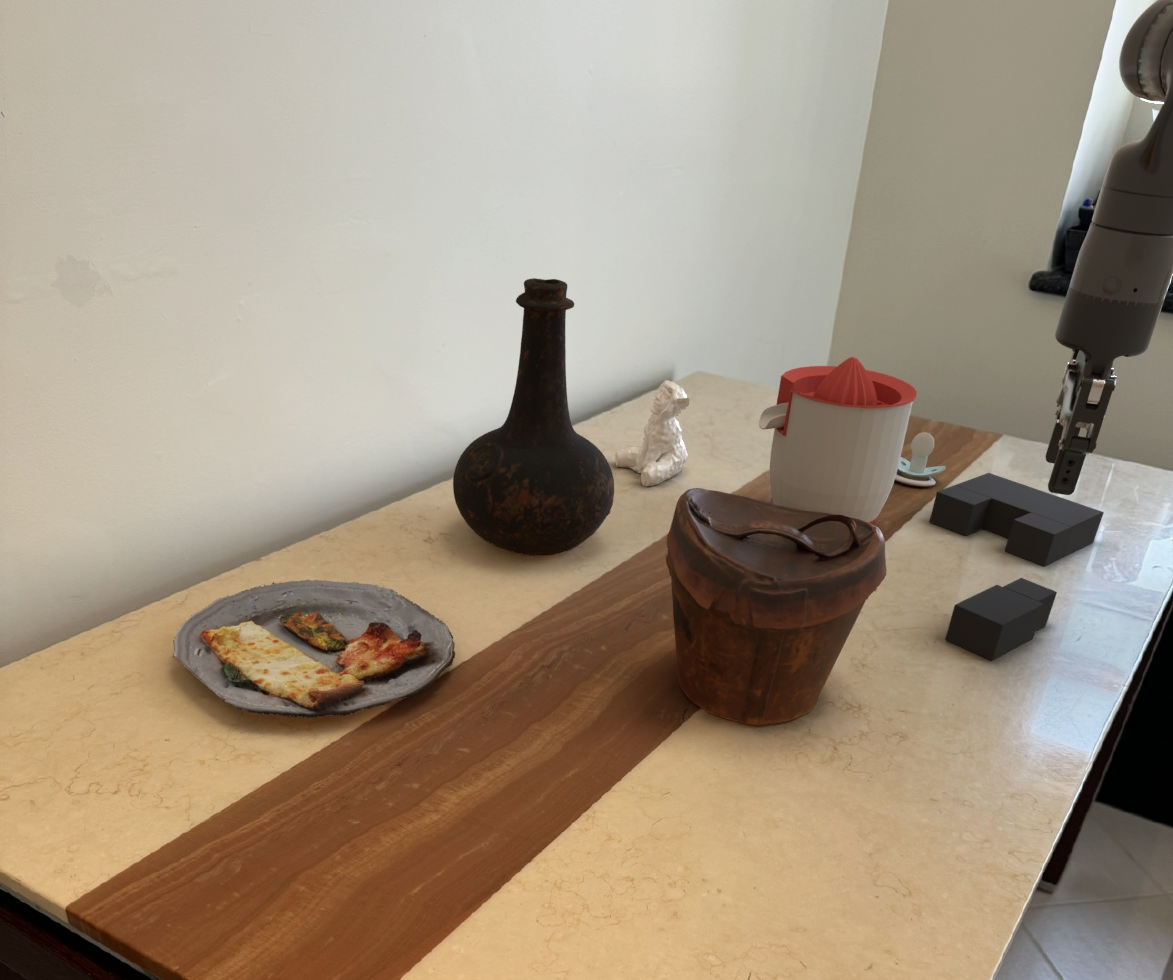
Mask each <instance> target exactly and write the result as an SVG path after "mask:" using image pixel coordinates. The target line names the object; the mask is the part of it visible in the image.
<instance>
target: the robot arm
mask: <svg viewBox="0 0 1173 980" xmlns="http://www.w3.org/2000/svg"><path fill="white" fill-rule="evenodd" d="M1128 30H1129V31H1128V32H1127V34H1126V35H1125V39H1124V40H1123V43H1122V46H1121V49H1120V53H1119V58H1118V59H1119V60H1118V70H1119V74H1120V75H1119V76H1120V78H1121V82H1122V84H1123V85H1124V87H1125V88H1126V89H1127V90H1128V91H1129V93H1130V94H1132V95H1133V96H1134V97H1136V98H1138V99H1140V100H1142V101H1145V102H1148V103H1154V104H1160V105H1161V107H1160V109H1159V111H1158V113H1157V115H1156V117H1155V119H1154V121H1153V123H1152V125H1151V126H1150V129H1149V130H1148V131H1147V133H1146V135H1145V136H1144V137H1143V138H1142V139H1138V140H1133V141H1130V142H1127V143H1124V144H1122V145H1121V146H1120V147H1119V148H1117V149H1116V150H1115V151H1114V153H1113V155H1112V157H1111V159H1110V161H1109V163H1108V166H1107V168H1106V171H1105V174H1104V177H1103V181H1102V184H1101V187H1100V191H1099V194H1098V198H1097V200H1096V204H1095V208H1094V211H1093V213H1092V214H1093V215H1092V216H1091V217H1092V218H1091V222H1090V224H1089V227H1088V230H1087V233H1086V235H1085V237H1084V240H1083V242H1082V244H1081V247H1080V249H1079V251H1078V255H1077V258H1076V262H1075V265H1074V268H1073V271H1072V274H1071V275H1072V276H1071V279H1070V282H1069V285H1068V288H1067V292H1066V295H1065V299H1064V302H1063V305H1062V310H1061V312H1060V315H1059V318H1058V319H1059V320H1058V323H1057V326H1056V329H1055V333H1054V337H1055V339H1056V341H1057V343H1059V344H1060V345H1061V346H1064V347H1065V348H1068V349H1070V350H1071V351H1072V354H1071V357H1070V360H1069V362H1067V363H1066V365H1065V367H1064V371H1063V375H1062V381H1061V385H1060V387H1059V389H1058V394H1057V398H1056V402H1055V403H1056V409H1055V412H1054V416H1055V417H1054V419H1055V422H1054V427H1053V430H1052V432H1051V436H1050V440H1049V443H1048V446H1047V450H1046V453H1045V461H1046V462H1047V463H1049V464H1053V467H1052V471H1051V474H1050V476H1049V480H1048V484H1047V491H1048V492H1049V493H1050V494H1058V495H1064V496H1070V495H1073V494H1074V493H1075V490H1076V488H1077V484H1078V481H1079V479H1080V475H1081V472H1082V470H1083V466H1084V462H1085V461H1086V460H1085V459H1086V457H1087V455H1089V454H1093V452H1094V451H1095V450H1096V448H1097V441H1098V437H1099V435H1100V431H1101V428H1102V425H1103V423H1104V421H1105V418H1106V417H1105V416H1106V413H1107V409H1108V407H1109V404H1110V400H1111V397H1112V395H1113V393H1114V391H1115V389H1116V384H1117V380H1118V379H1117V378H1118V377H1117V376H1115V375H1114V374H1115V368H1113V367H1114V366H1113V365H1114V361H1115V359H1117V358H1120V357H1126V358H1130V357H1131V358H1133V357H1137V356H1140V355H1142V354H1144V353H1145V352H1147V350H1148V348H1149V346H1150V344H1151V343H1150V342H1151V340H1152V337H1153V334H1154V331H1155V328H1156V325H1157V322H1158V320H1159V316H1160V313H1161V310H1162V307H1163V305H1164V303H1165V298H1166V296H1167V293H1168V289H1169V287H1170V284H1171V281H1172V278H1173V0H1155V2H1153V3H1151V4H1150V5H1149V6H1148V7H1147V8H1146V9H1145V10H1144V11H1143V12H1142V13H1141V14H1140V15H1139V16H1138V18H1137V19H1136V20H1135V21H1134V23H1133V24H1132V25H1131V27H1130V29H1128ZM1081 429H1085V430H1086V434H1085V436H1080V431H1081Z"/></svg>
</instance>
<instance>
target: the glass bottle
mask: <svg viewBox="0 0 1173 980" xmlns="http://www.w3.org/2000/svg"><path fill="white" fill-rule="evenodd" d="M523 289H524V292H522V293H520V294H519V295H518V296H517V297H516V299H515V303H516V304H517V305H518V306H519V307H521V308H522V309H523V316H522V330H521V338H520V350H519V360H518V366H517V374H516V380H515V386H514V392H513V396H512V400H511V405H510V407H509V411H508V414H507V416H506V419H505V421H504V422H503V424H502V425H501V426H499V427H498V428H495V429H493V430H490V431H487V432H486V433H484V434H482V435H480V436H479V437H477V438H476V439H474V440H473V441H472V442H471V443H469V444H468V445H467V447H466V448H465V449H464V450H463V451H462V453H461V454H460V456H459V458H458V460H457V463H456V465H455V468H454V470H453V471H454V472H453V477H452V489H453V497H454V501H455V504H456V507H457V509H458V512H459V515H460V516H461V517H462V519H463V520H464V522H465V523H466V524H467V525H468V527H469V528H470V529H471V530H472V531H473V532H474V534H476V535H477V536H479V537H480V538H481V539H482V540H484V541H485V542H486V543H488V544H491V545H493V546H495V547H498V548H499V549H502V550H505V551H507V552H512V553H514V554H519V555H525V556H534V557H548V556H553V555H559V554H563V553H565V552H569V551H571V550H573V549H574V548H576V547H578V546H580V545H582V544H583V543H584V542H586V540H588V539H590V538H591V537H592V536H593V535H594V534H595V533H596V532H597V531H598V530H599V528H600V527H601V526H602V525H603V523H604V521H605V520H606V519H607V517H608V515H610V514H611V511H612V507H613V505H614V501H615V500H614V497H615V479H614V475H613V471H612V467H611V465H610V464H609V461H608V459H607V458H606V456H605V455H604V454H603V452H602V451H601V449H599V447H597V445H595V444H594V443H593V442H592V441H590V440H589V439H587V438H586V437H584V436H582V435H581V434H579V433H578V432H577V431H575V429H574V427H573V424H572V421H571V416H570V409H569V402H568V388H567V368H566V366H567V364H566V359H567V356H566V355H567V353H566V352H567V351H566V318H567V317H566V314H567V313H566V312H567V310H571V309H573V308H574V307H575V302H574V301H573V300H572V299H571V298H569V297H567V291H568V283H567V282H566V281H563V280H560V279H556V278H549V279H543V278H535V277H532V278H528V279H525V280H524V281H523Z"/></svg>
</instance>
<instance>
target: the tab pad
mask: <svg viewBox="0 0 1173 980" xmlns="http://www.w3.org/2000/svg"><path fill="white" fill-rule="evenodd" d="M1057 594H1058V592H1057V591H1055V590H1053V589H1051V588H1048V587H1045V586H1043V585H1040V584H1038V583H1035V582H1033V581H1030V580H1028V579H1026V578H1023V577H1019V578H1017V579H1016V580H1013V581H1012V582H1010V583H1007V584H1005V585H1003V586H1001V585H999V584H995V585H993V586H990V587H989V588H987V589H985V590H983V591H981V592H979V593H976V594H974V595H972V596H970V597H968V598H966V599H964V600H962V601H960V602H957V603H956V604H954V606H953V610H952V613H951V618H950V620H949V625H948V628H947V632H946V634H945V639H944V640H945V641H947V642H949V643H951V644H954V645H956V646H958V647H960V648H963V649H965V650H967V651H969V652H971V653H974V654H976V655H977V656H980V657H982V658H985V659H986V660H989V661H991V662H993V661H995V660H996V659H998V658H1000V657H1002V656H1003V655H1006V654H1008V653H1009V652H1012V651H1013V650H1014V649H1016V648H1018V647H1020V646H1023V645H1024V644H1025V643H1027V642H1029V641H1031V640H1033V639H1034V636H1035V633H1036V632H1037V631H1040V630H1041V629H1043V628H1045V627H1046V626H1047V624H1048V621H1049V617H1050V614H1051V611H1052V608H1053V606H1054V602H1055V599H1056V596H1057Z"/></svg>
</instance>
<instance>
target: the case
mask: <svg viewBox="0 0 1173 980" xmlns="http://www.w3.org/2000/svg"><path fill="white" fill-rule="evenodd" d="M673 512H674V513H673V516H672V520H671V524H670V528H669V531H668V532H667V535H666V547H667V554H666V556H665V562H666V566H667V569H668V573H669V576H670V578H671V579H670V580H671V581H670V582H671V597H672V598H671V599H672V613H673V615H672V616H673V627H674V628H673V629H674V639H675V640H674V642H675V654H676V669H677V670H676V671H677V680H678V684H679V687H680V688H681V690H682V692H683V694H684V695H685V696H686V697H687V698H688V699H689V700H690V701H691V702H692V703H693V704H695V706H698V707H699V708H701V709H703V710H704V711H706V712H708V713H710V714H712V715H715V716H718V717H720V718H723V719H727V720H730V721H734V722H738V723H741V724H745V725H750V726H765V725H775V724H783V723H787V722H790V721H793V720H795V719H798V718H801V717H803V716H805V715H806V714H808V713H810V712H811V711H812V710H813V709H814V708H815V706H816V705H817V703H818V701H819V699H820V698H819V697H820V695H821V693H822V691H823V689H824V687H825V685H826V683H827V681H828V679H829V678H830V675H831V673H832V670H833V668H834V666H835V665H836V662H837V660H838V658H839V656H840V654H841V653H842V651H843V648H844V647H845V644H846V642H847V640H848V638H849V636H850V634H851V632H852V630H853V627H854V626H855V624H856V622H857V619H858V617H859V615H860V613H861V611H862V609H863V607H864V605H865V603H866V601H868V599H869V597H870V596H871V595H872V594H873V593H874V592H875V591H876V590H877V589H878V588H879V586H880V585H881V584H882V582H883V581H884V580H885V579H886V576H887V570H888V569H887V561H886V560H887V559H886V540H885V537H884V535H883V533H882V531H881V530H880V528H879V527H877V525H875V524H873V525H872V524H870V523H868V522H866V521H863V520H860V519H857V518H851V517H847V516H844V515H839V514H837V515H836V514H830V513H823V512H814V511H805V510H800V509H795V508H790V507H785V506H778V505H774V504H772V503H769V502H765V501H762V500H758V499H754V498H752V497H749V496H743V495H739V494H734V493H728V492H724V491H719V490H712V489H705V488H702V487H701V488H700V487H694V488H689V489H687V490H685V491H684V492H683V493H682V494H681V495H680V496H679V498H678V500H677V502H676V505H675V508H674V511H673ZM877 591H878V590H877Z"/></svg>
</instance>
